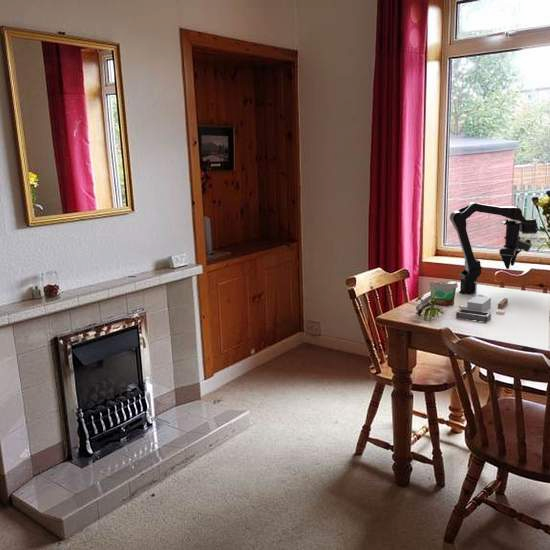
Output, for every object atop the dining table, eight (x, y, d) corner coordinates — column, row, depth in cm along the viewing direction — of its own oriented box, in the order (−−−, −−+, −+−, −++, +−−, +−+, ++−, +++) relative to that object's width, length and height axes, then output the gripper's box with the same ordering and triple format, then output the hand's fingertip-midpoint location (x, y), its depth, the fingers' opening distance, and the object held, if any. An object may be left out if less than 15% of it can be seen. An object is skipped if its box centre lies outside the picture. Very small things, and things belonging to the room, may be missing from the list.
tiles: (459, 308, 238) (459, 306, 238) (461, 306, 240) (461, 304, 240) (503, 314, 228) (503, 312, 228) (505, 312, 230) (505, 310, 230)
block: (466, 313, 232) (467, 301, 231) (476, 306, 241) (476, 295, 240) (481, 315, 228) (482, 303, 227) (490, 308, 238) (491, 297, 237)
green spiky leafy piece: (419, 328, 230) (416, 301, 235) (446, 325, 226) (443, 298, 231) (414, 319, 221) (412, 291, 226) (443, 316, 217) (440, 288, 222)
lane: (471, 304, 243) (472, 300, 243) (478, 299, 252) (478, 294, 252) (501, 308, 236) (501, 304, 236) (507, 302, 245) (507, 298, 245)
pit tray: (456, 318, 225) (456, 312, 224) (460, 314, 230) (460, 308, 229) (486, 322, 218) (487, 316, 217) (490, 318, 223) (491, 312, 222)
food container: (426, 306, 243) (427, 283, 241) (427, 302, 248) (428, 280, 246) (456, 308, 239) (457, 285, 237) (457, 304, 245) (458, 282, 242)
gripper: (526, 238, 245) (524, 272, 249) (535, 232, 260) (532, 265, 263) (500, 236, 252) (497, 270, 255) (510, 231, 266) (508, 263, 270)
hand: (510, 267), depth 261 cm, fingers open, 9 cm apart
